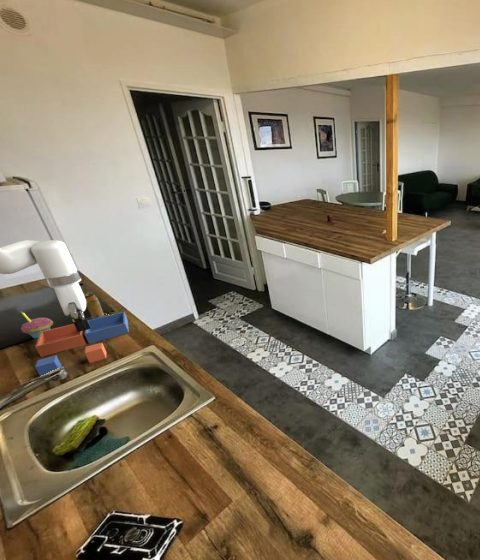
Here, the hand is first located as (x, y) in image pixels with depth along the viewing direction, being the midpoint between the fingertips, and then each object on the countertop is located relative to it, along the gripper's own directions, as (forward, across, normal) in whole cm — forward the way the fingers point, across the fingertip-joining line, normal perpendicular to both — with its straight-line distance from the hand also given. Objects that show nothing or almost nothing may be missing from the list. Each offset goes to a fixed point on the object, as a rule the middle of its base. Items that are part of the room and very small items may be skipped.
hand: (85, 323), depth 107 cm
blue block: (+14, 0, -13) cm, 19 cm away
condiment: (+14, -35, -2) cm, 38 cm away
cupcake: (+14, -32, -19) cm, 39 cm away
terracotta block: (+14, 0, -1) cm, 14 cm away
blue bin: (+14, -19, +2) cm, 24 cm away
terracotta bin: (+14, -19, -11) cm, 26 cm away
